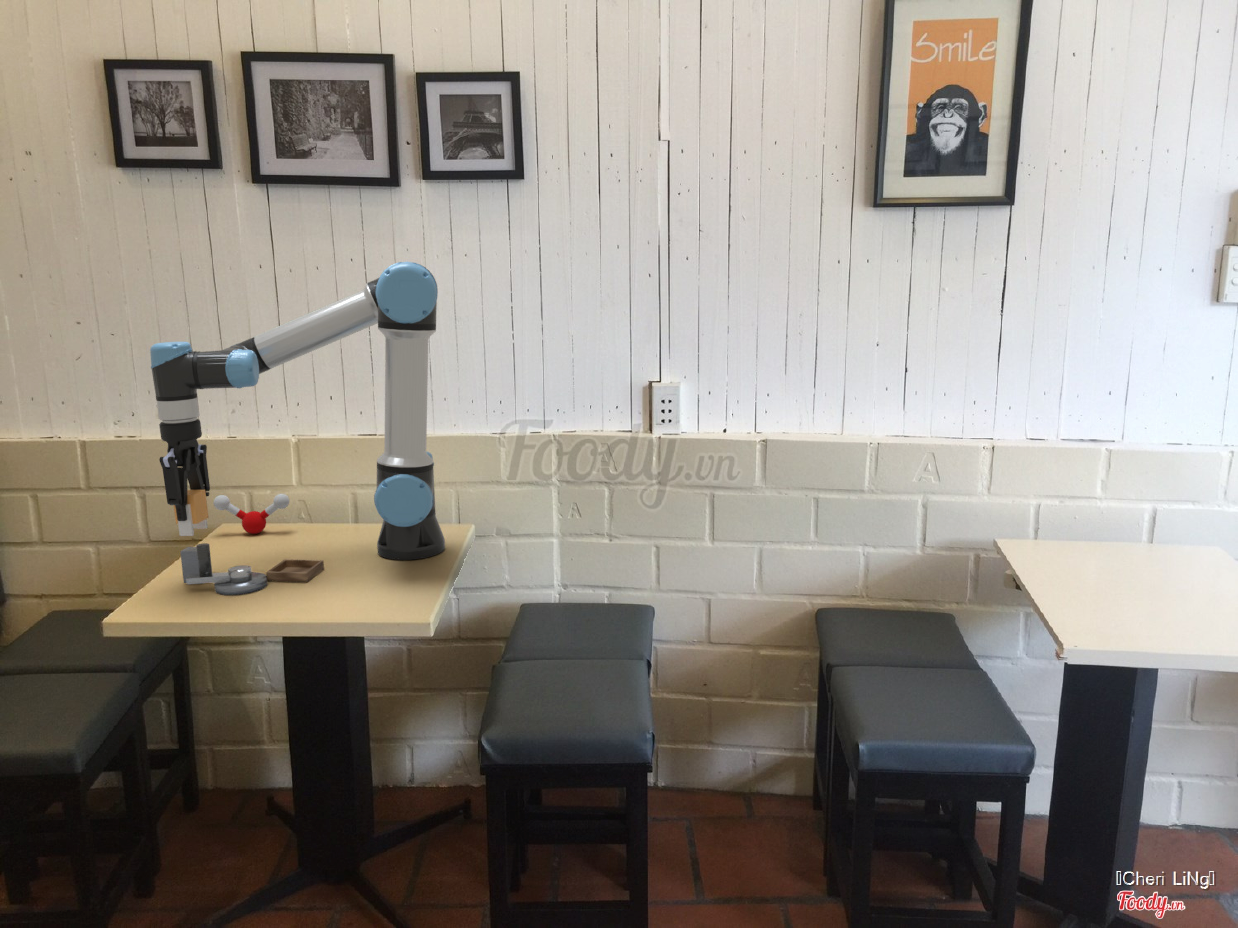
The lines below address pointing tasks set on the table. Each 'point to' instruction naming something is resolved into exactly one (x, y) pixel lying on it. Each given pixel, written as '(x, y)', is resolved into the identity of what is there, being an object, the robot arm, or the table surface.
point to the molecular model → (252, 512)
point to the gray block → (189, 562)
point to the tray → (295, 570)
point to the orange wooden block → (196, 505)
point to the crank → (206, 576)
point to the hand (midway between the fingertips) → (193, 531)
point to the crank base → (242, 585)
